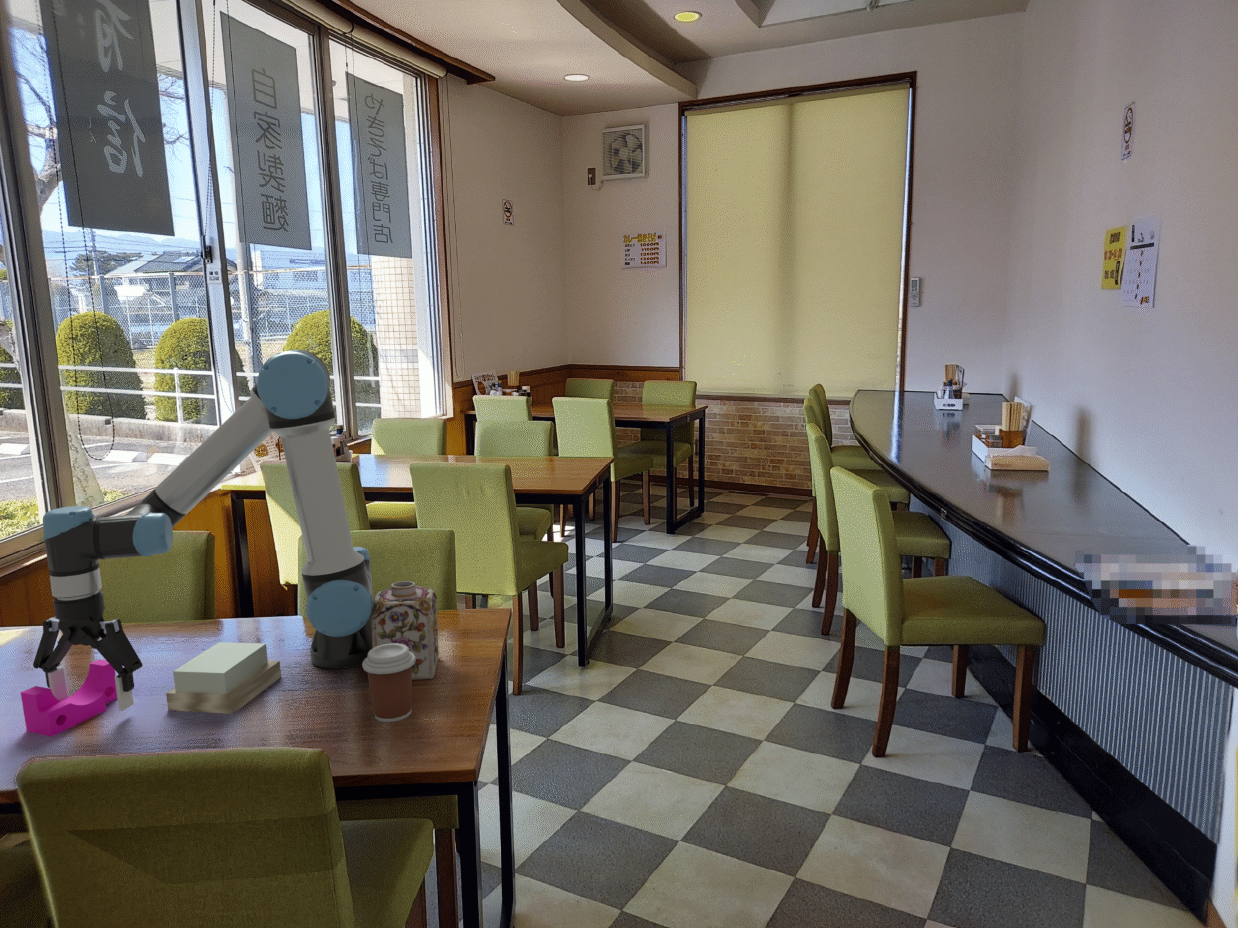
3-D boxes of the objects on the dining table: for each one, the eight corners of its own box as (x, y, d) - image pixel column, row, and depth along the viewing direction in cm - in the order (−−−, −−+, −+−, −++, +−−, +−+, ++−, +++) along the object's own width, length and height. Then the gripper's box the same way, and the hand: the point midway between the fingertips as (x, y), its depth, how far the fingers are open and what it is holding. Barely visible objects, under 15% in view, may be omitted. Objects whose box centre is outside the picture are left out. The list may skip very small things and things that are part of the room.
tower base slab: (281, 679, 168) (279, 660, 167) (233, 716, 153) (231, 696, 152) (222, 676, 170) (220, 658, 170) (168, 713, 155) (166, 692, 154)
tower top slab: (267, 662, 167) (265, 643, 166) (226, 693, 153) (223, 672, 152) (221, 661, 168) (219, 642, 167) (175, 691, 154) (173, 671, 154)
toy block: (51, 737, 146) (45, 696, 145) (26, 732, 148) (20, 692, 147) (128, 700, 160) (123, 663, 158) (104, 696, 162) (99, 659, 161)
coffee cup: (393, 698, 157) (388, 637, 155) (430, 708, 152) (425, 645, 150) (355, 718, 149) (350, 654, 147) (393, 730, 144) (388, 664, 142)
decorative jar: (373, 683, 163) (367, 594, 160) (382, 659, 175) (377, 576, 172) (436, 679, 165) (431, 591, 162) (440, 656, 176) (436, 573, 173)
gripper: (155, 588, 151) (168, 699, 155) (34, 585, 155) (49, 693, 159) (125, 602, 144) (139, 718, 148) (-2, 598, 148) (15, 711, 152)
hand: (93, 705), depth 153 cm, fingers open, 13 cm apart
